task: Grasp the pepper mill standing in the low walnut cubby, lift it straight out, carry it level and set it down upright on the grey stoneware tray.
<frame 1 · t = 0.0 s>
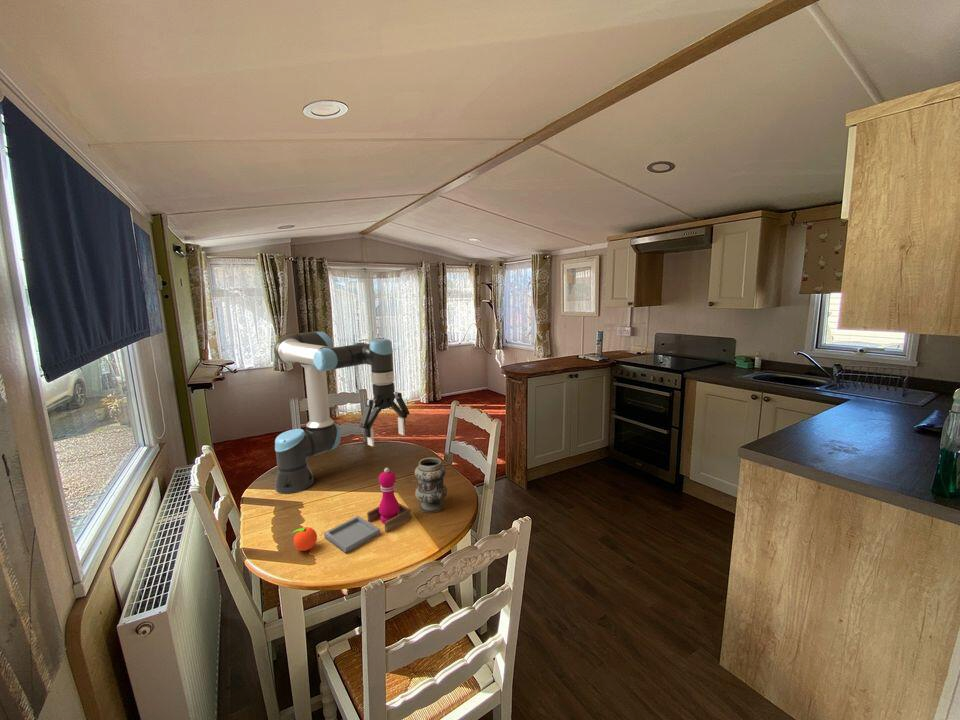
hand: (386, 439, 145), 28 cm above the table, fingers open, 13 cm apart
tray: (352, 536, 135), on the table
cubby: (389, 519, 144), on the table
apothecary jar: (431, 506, 153), on the table
pepper mill: (389, 520, 144), on the table
clementine: (304, 549, 129), on the table
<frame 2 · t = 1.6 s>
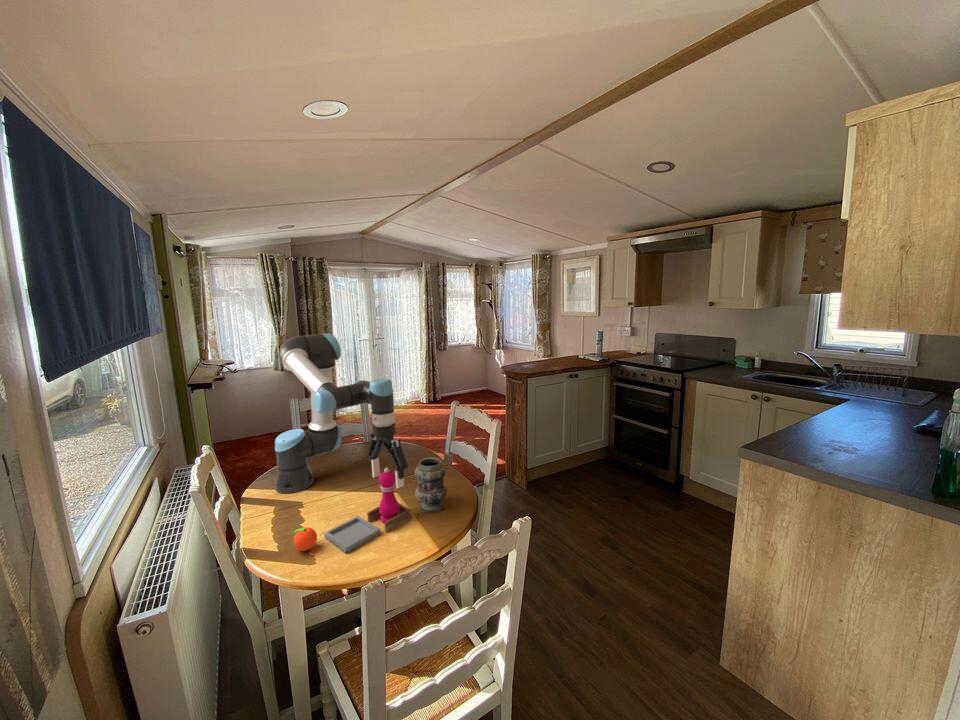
hand: (387, 481, 141), 15 cm above the table, fingers open, 13 cm apart
nothing on the table moved.
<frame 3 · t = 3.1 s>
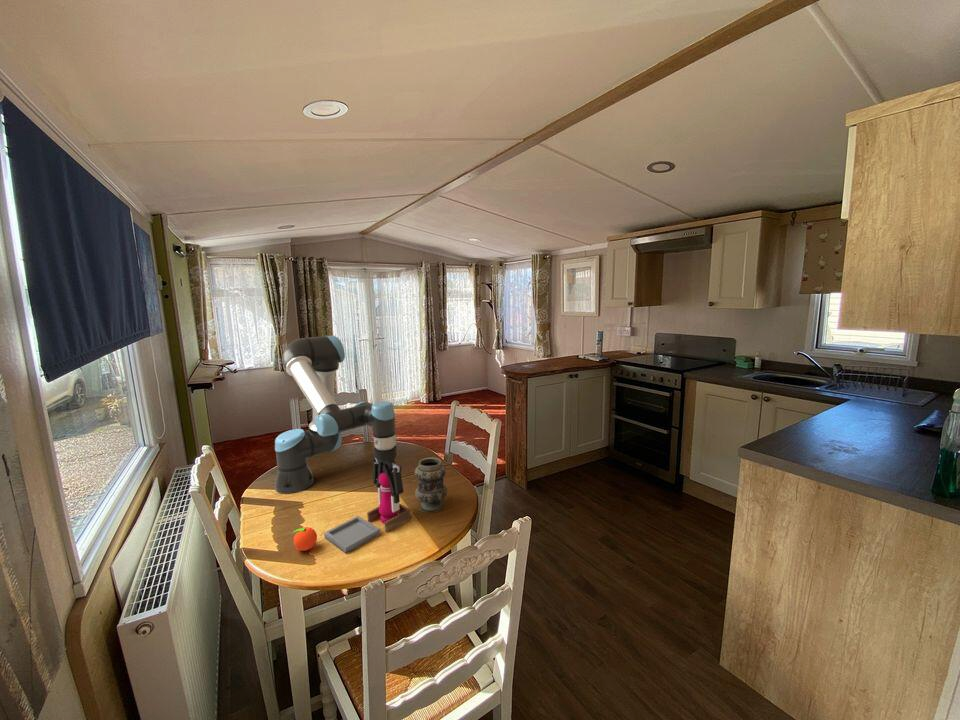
hand: (389, 506, 143), 5 cm above the table, fingers closed on pepper mill, 7 cm apart
pepper mill: (389, 520, 144), on the table, touching gripper
everything else where it was.
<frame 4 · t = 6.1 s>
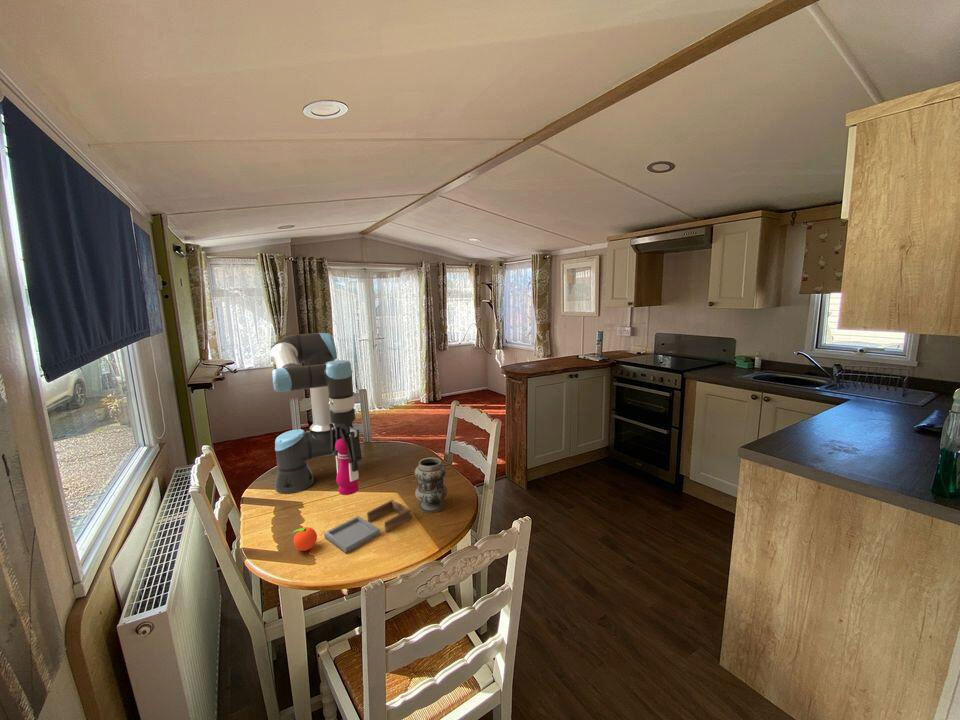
hand: (347, 476, 131), 22 cm above the table, fingers closed on pepper mill, 7 cm apart
pepper mill: (348, 491, 132), point 16 cm above the table, touching gripper
everything else where it was.
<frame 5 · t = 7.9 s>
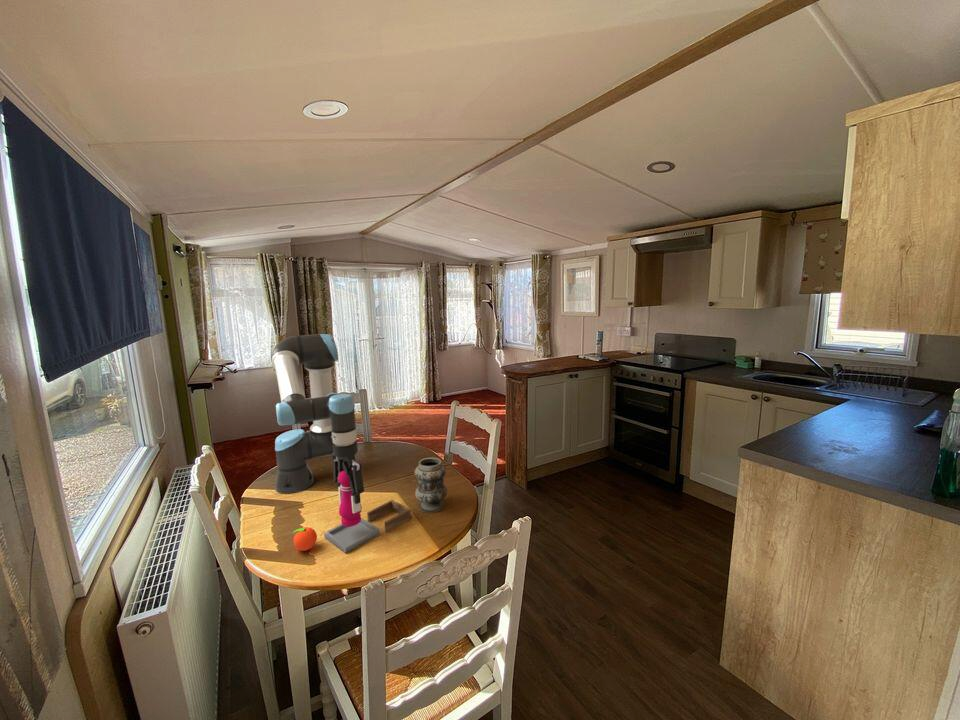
hand: (350, 507, 133), 11 cm above the table, fingers closed on pepper mill, 7 cm apart
pepper mill: (351, 522, 134), point 5 cm above the table, touching gripper
everything else where it was.
when the fingers open (7 cm above the table, at t = 9.1 s): pepper mill drops 1 cm, resting on tray.
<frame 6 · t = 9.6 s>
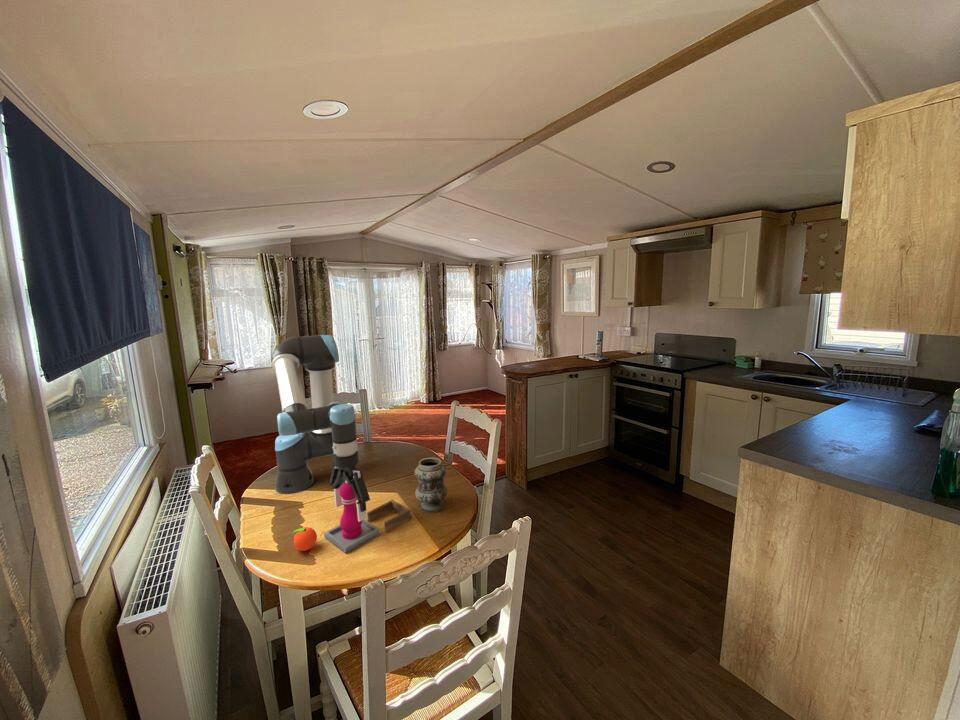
hand: (350, 512, 133), 9 cm above the table, fingers open, 13 cm apart
pepper mill: (352, 534, 135), point 1 cm above the table, touching tray
everything else where it was.
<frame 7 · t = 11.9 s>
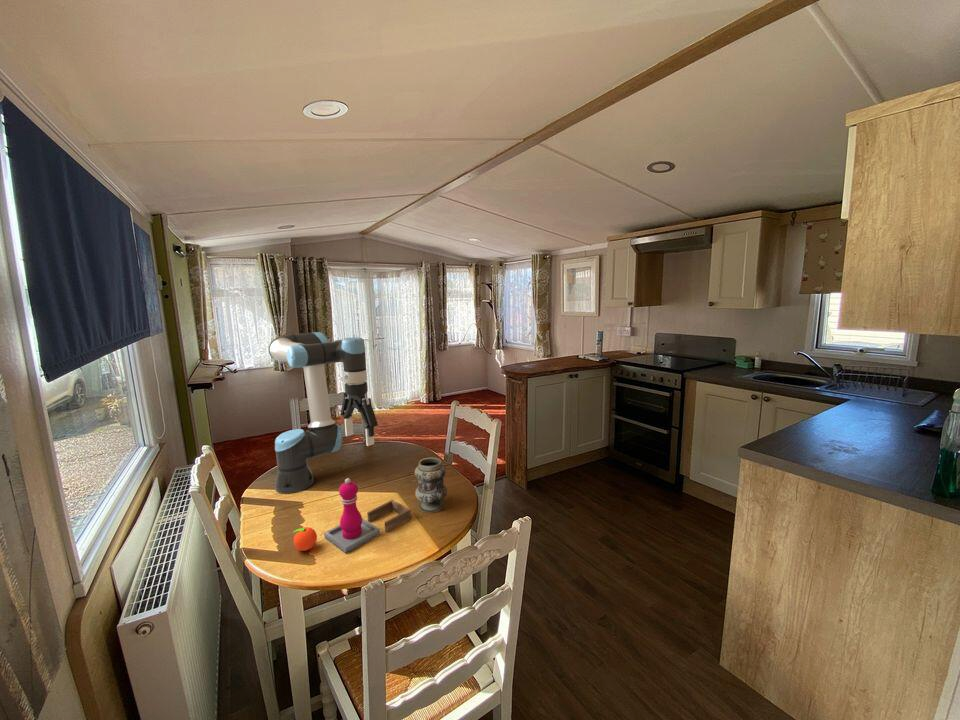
hand: (359, 439, 143), 29 cm above the table, fingers open, 13 cm apart
nothing on the table moved.
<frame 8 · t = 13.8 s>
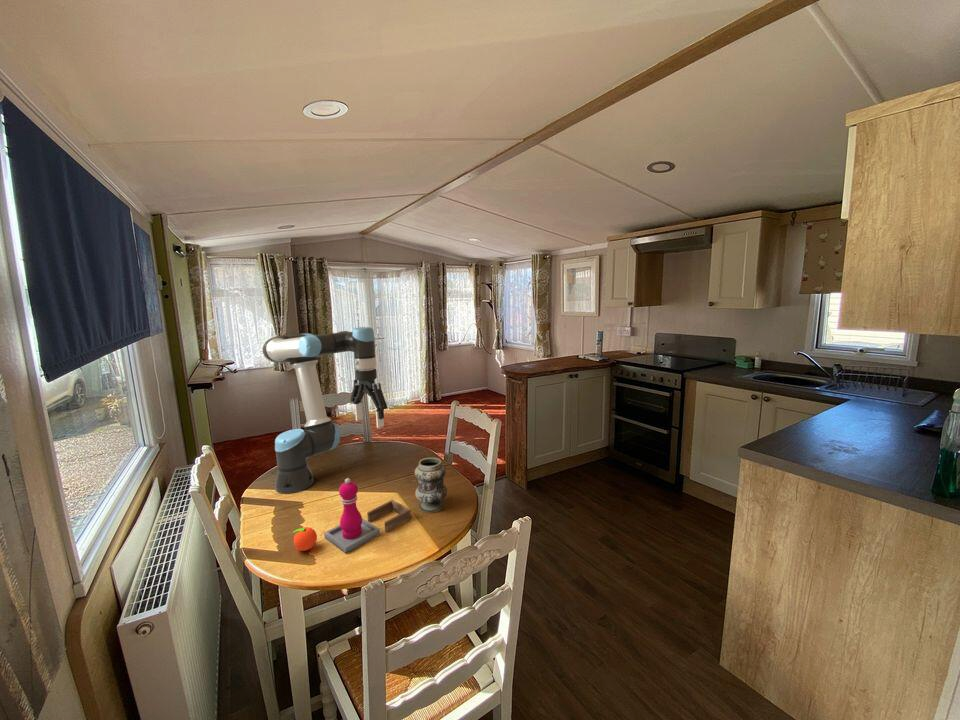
hand: (369, 423, 152), 32 cm above the table, fingers open, 13 cm apart
nothing on the table moved.
at the end: pepper mill inside the target area on the tray (0.1 cm from its centre), point 0.6 cm above the tray's base; pepper mill tilted 0°; the gripper is holding nothing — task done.
